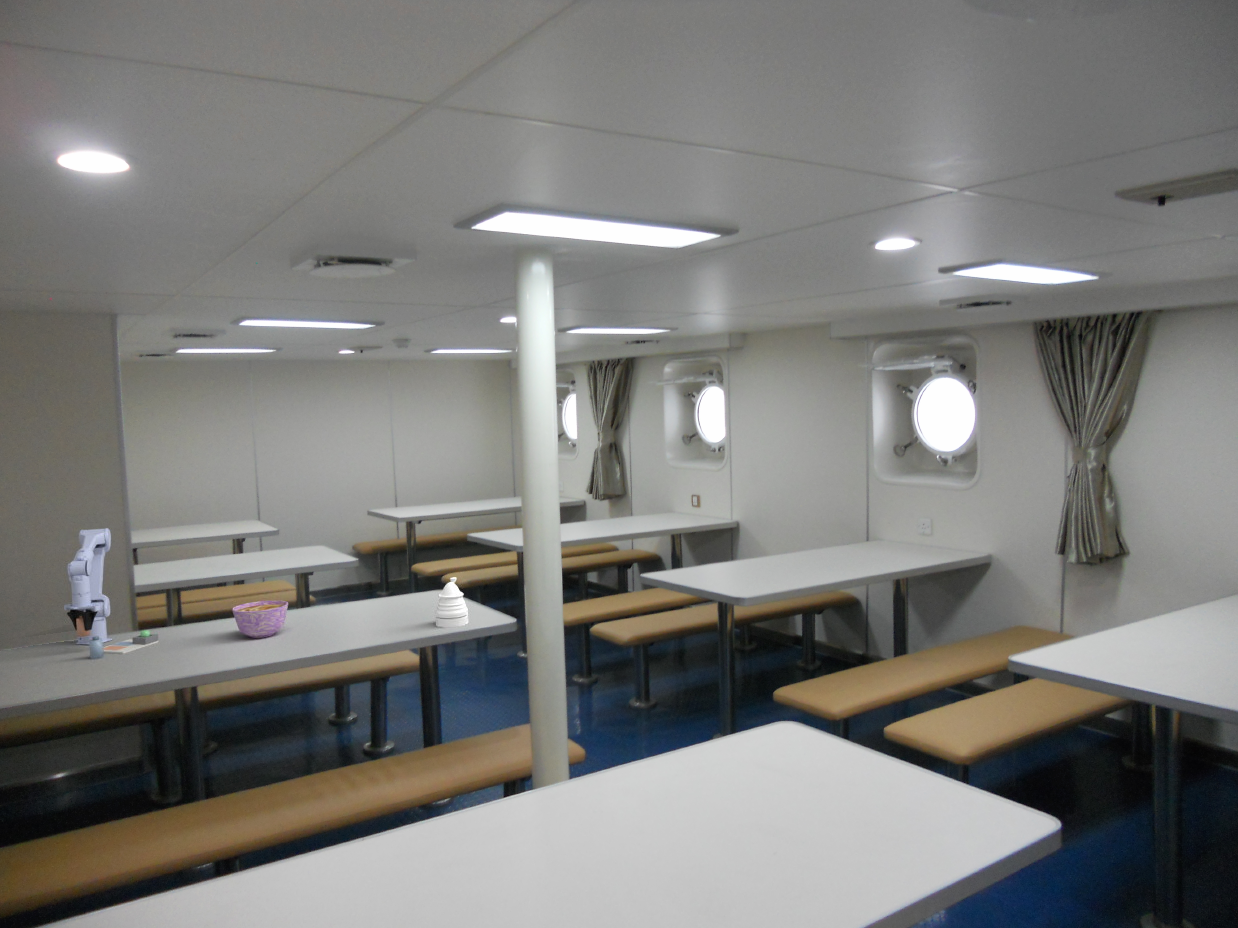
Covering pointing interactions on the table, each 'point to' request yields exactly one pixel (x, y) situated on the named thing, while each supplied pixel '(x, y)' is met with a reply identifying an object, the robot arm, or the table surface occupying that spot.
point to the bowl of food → (260, 617)
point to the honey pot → (451, 607)
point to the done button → (145, 633)
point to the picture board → (131, 644)
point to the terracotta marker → (81, 628)
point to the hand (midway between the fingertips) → (83, 629)
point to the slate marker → (96, 648)
